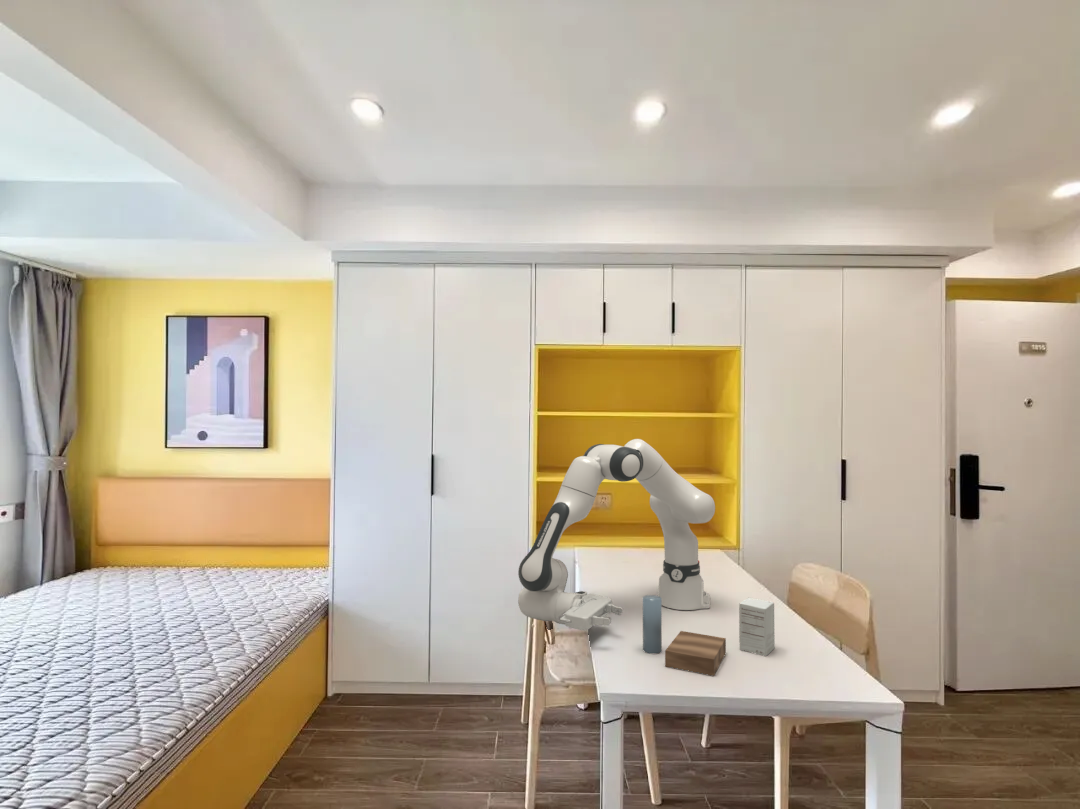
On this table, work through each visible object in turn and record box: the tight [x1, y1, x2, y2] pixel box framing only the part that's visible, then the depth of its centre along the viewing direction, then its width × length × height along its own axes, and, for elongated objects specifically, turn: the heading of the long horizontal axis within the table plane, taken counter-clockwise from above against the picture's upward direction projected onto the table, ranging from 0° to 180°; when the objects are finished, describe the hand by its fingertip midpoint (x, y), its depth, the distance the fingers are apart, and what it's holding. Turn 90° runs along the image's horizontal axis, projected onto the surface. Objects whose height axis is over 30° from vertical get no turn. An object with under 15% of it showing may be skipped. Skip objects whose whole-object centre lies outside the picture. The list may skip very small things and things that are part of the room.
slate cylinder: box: [642, 594, 663, 654], centre depth 163 cm, size 5×5×14 cm
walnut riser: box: [664, 630, 727, 677], centre depth 157 cm, size 16×12×4 cm
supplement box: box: [738, 597, 776, 657], centre depth 164 cm, size 7×7×13 cm
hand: (616, 616), depth 168 cm, fingers open, 8 cm apart
